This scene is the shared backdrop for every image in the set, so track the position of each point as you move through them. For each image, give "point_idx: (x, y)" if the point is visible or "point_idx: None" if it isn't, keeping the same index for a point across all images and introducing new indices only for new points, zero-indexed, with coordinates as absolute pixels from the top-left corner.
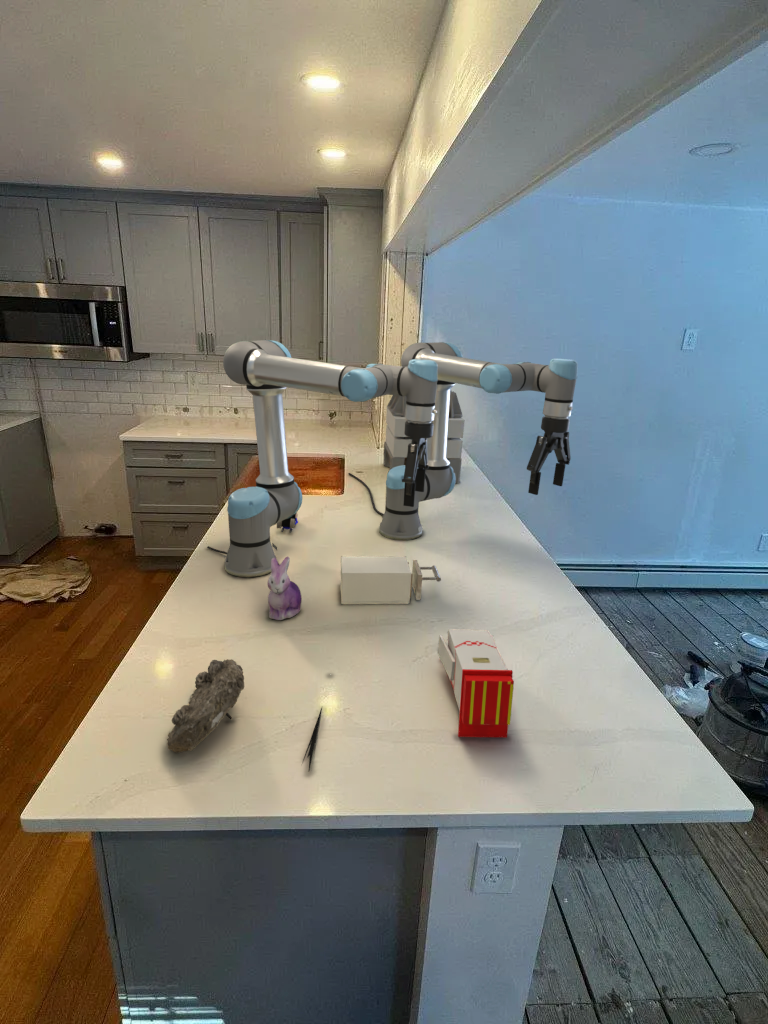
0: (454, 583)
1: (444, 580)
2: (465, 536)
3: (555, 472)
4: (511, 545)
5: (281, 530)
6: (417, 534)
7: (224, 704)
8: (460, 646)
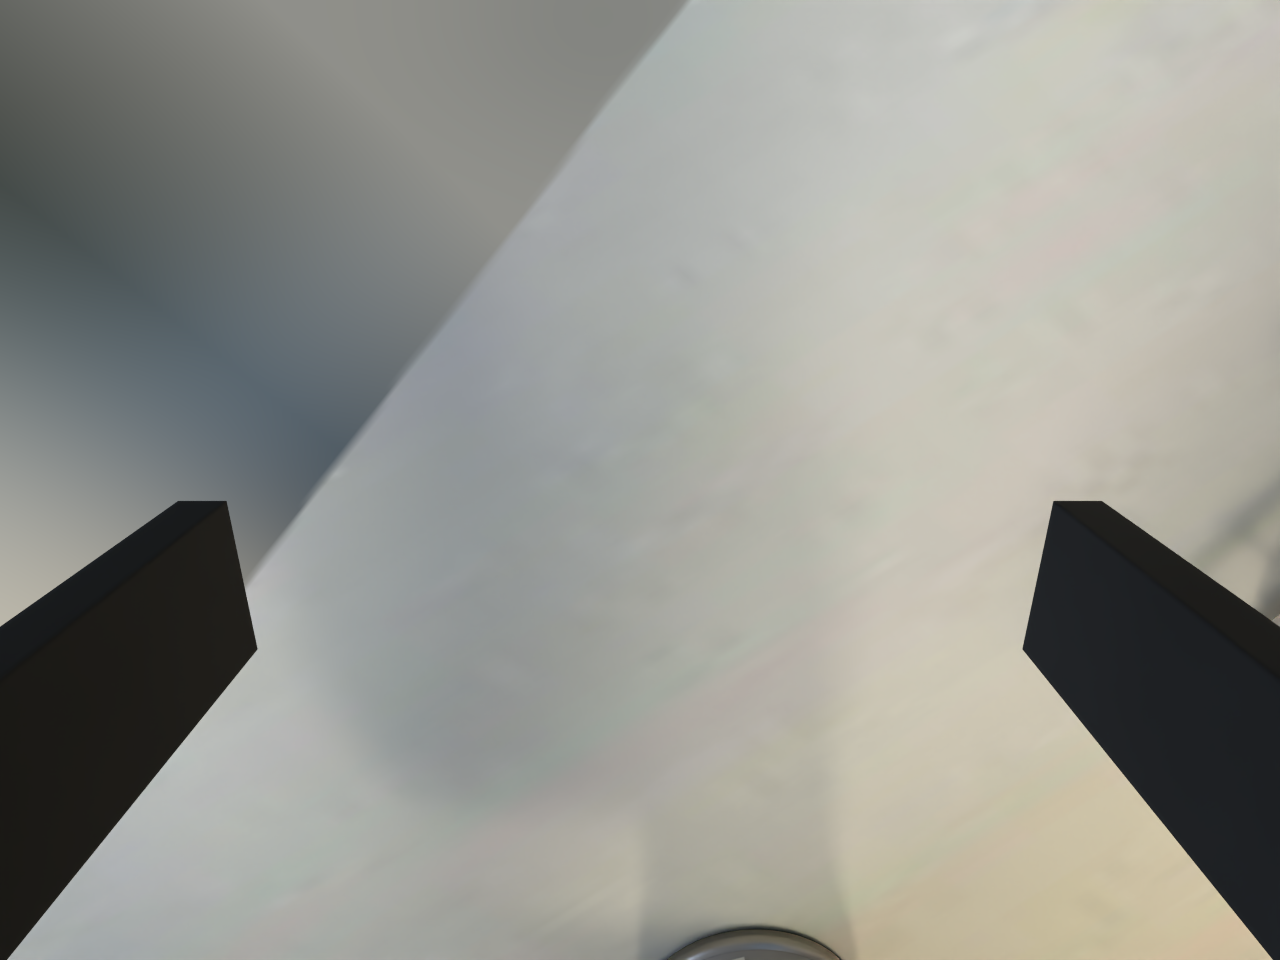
0: None
1: None
2: (520, 818)
3: (113, 802)
4: (397, 611)
5: None
6: (750, 946)
7: None
8: None
